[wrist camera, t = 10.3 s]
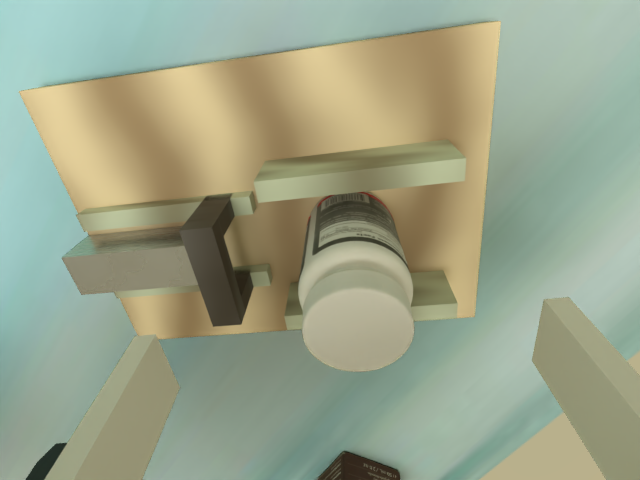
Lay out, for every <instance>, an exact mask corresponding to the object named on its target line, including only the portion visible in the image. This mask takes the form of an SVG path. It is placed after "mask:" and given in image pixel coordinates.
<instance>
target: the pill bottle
mask: <svg viewBox="0 0 640 480" xmlns="http://www.w3.org/2000/svg"><path fill="white" fill-rule="evenodd" d="M298 295H299V301H300V305H301V307H302V310H303V321H302V335H303V339H304V342H305V344H306V346H307V348H308V350H309V351H310V352H311V353H312V355H314V356H315V357H316V358H317V359H318V360H319V361H321V362H323V363H324V364H326V365H328V366H331V367H333V368H336V369H339V370H344V371H351V372H365V371H371V370H376V369H380V368H382V367H385V366H387V365H389V364H391V363H393V362H395V361H396V360H397V359H399V358H400V357H401V356H402V355H403V354H404V353H405V352H406V351H407V349H408V348H409V346H410V344H411V342H412V339H413V336H414V321H413V317H412V312H411V302H412V298H413V284H412V279H411V275H410V272H409V268H408V264H407V261H406V258H405V255H404V252H403V249H402V246H401V243H400V240H399V237H398V233H397V230H396V227H395V223H394V219H393V217H392V214H391V212H390V211H389V209H388V208H387V206H386V205H385V204H384V203H383V202H382V201H381V200H380V199H379V198H378V197H376V196H375V195H373V194H371V193H369V192H357V193H347V194H338V195H328V196H326V197H324V198H323V199H322V200H321V201H319V202H318V203H317V205H316V206H315V207H314V208H313V210H312V212H311V214H310V216H309V219H308V222H307V228H306V235H305V242H304V250H303V256H302V263H301V270H300V276H299V284H298Z"/></svg>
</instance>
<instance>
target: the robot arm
mask: <svg viewBox="0 0 640 480" xmlns="http://www.w3.org/2000/svg"><path fill="white" fill-rule="evenodd" d="M532 361H533V363H534V364H535V366H536V368H537V369H538V371H539V373H540V374H541V376H542V377H543V379H544V381H545V382H546V384H547V385H548V387H549V389H550V390H551V392H552V393H553V395H554V397H555V398H556V400H557V401H558V403H559V405H560V406H561V408H562V409H563V411H564V413H565V414H566V416H567V418H568V419H569V421H570V422H571V424H572V425H573V427H574V428H575V430H576V432H577V434H578V435H579V437H580V438H581V440H582V442H583V443H584V445H585V446H586V448H587V450H588V451H589V453H590V454H591V456H592V458H593V459H594V461H595V462H596V464H597V466H598V467H599V469H600V471H601V472H602V474H603V475H604V477H605V478H606V480H640V375H639V374H638V373H637V372H636V371H635V370H634V369H633V368H632V366H631V365H630V364H629V363H628V362H627V361H626V360H625V359H624V358H623V357H622V355H621V354H620V353H619V352H618V351H617V350H616V349H615V348H614V347H613V346H612V344H611V343H610V342H609V341H608V340H607V339H606V338H605V337H604V336H603V335H602V333H601V332H600V331H599V330H598V329H597V328H596V327H595V326H594V325H593V324H592V322H591V321H590V320H589V319H588V318H587V317H586V316H585V315H584V314H583V312H582V311H581V310H580V309H579V308H578V307H577V306H576V305H575V304H574V303H573V301H572V300H571V299H570V298H569V297H565V298H554V299H544V301H543V306H542V311H541V317H540V322H539V327H538V332H537V337H536V342H535V347H534V352H533V357H532ZM179 389H180V387H179V384H178V382H177V380H176V378H175V376H174V373H173V371H172V369H171V367H170V365H169V362H168V360H167V358H166V356H165V354H164V352H163V349H162V347H161V345H160V343H159V341H158V338H157V336H156V334H153V335H142V336H135V337H134V338H133V340H132V341H131V343H130V345H129V346H128V348H127V349H126V351H125V353H124V354H123V356H122V357H121V359H120V360H119V362H118V364H117V365H116V367H115V368H114V370H113V372H112V373H111V375H110V376H109V378H108V379H107V381H106V383H105V384H104V386H103V387H102V389H101V391H100V392H99V394H98V395H97V397H96V399H95V400H94V402H93V403H92V405H91V406H90V408H89V410H88V411H87V413H86V414H85V416H84V418H83V419H82V421H81V422H80V424H79V425H78V427H77V429H76V430H75V432H74V433H73V435H72V437H71V438H70V440H69V441H68V443H59V444H55V445H54V446H53V447H52V448H51V449H50V450H49V451H48V452H47V453H46V454H45V455H44V456H43V457H42V458H41V459H40V460H39V461H38V462H37V463H36V465H35V466H34V468H33V469H32V471H31V472H30V474H29V475H28V477H27V478H26V480H142V478H143V476H144V474H145V471H146V469H147V466H148V464H149V461H150V459H151V457H152V454H153V452H154V449H155V447H156V444H157V442H158V440H159V437H160V435H161V432H162V430H163V428H164V425H165V423H166V420H167V418H168V415H169V413H170V411H171V408H172V406H173V403H174V401H175V398H176V396H177V394H178V391H179Z"/></svg>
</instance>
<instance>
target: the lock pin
mask: <svg viewBox="0 0 640 480" xmlns="http://www.w3.org/2000/svg"><path fill="white" fill-rule="evenodd" d="M181 228H182V226H177V227H167V228H157V229H148V230H138V231H128V232H118V233H108V234H98V235H89V236H87V237H86V238H85V239H83V240H82V241H81V242H80V243H79V244H77V245H76V246H75V247H74V248H73V249H71V250H70V251H69V252H68V253H67V254H65V255H64V256H63V257H62V260H63V262H64V263H65V265H66V267H67V269H68V271H69V273H70V274H71V276H72V278H73V280H74V282H75V284H76V285H77V287H78V289H79V291H80V293H81V295H85V294H97V293H108V292H120V291H132V290H144V289H155V288H167V287H179V286H190V285H198V283H197V280H196V277H195V274H194V271H193V269H192V266H191V263H190V260H189V257H188V254H187V252H186V249H185V246H184V243H183V240H182V238H181V235H180V232H179V230H180V229H181Z"/></svg>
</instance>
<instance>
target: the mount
mask: <svg viewBox="0 0 640 480" xmlns="http://www.w3.org/2000/svg"><path fill="white" fill-rule="evenodd" d="M500 24H501V21H491V22H482V23H475V24H468V25H461V26H455V27H448V28H441V29H434V30H427V31H420V32H414V33H407V34H400V35H393V36H386V37H379V38H372V39H366V40H359V41H352V42H345V43H338V44H331V45H325V46H318V47H311V48H304V49H297V50H290V51H284V52H277V53H270V54H263V55H256V56H249V57H243V58H236V59H229V60H222V61H215V62H208V63H201V64H195V65H188V66H181V67H174V68H167V69H160V70H154V71H147V72H140V73H133V74H126V75H119V76H113V77H106V78H99V79H92V80H85V81H78V82H71V83H65V84H58V85H51V86H44V87H38V88H33V89H28V90H23V91H19V93H20V95H21V97H22V99H23V101H24V103H25V105H26V107H27V110H28V112H29V114H30V116H31V118H32V120H33V122H34V124H35V126H36V128H37V130H38V132H39V134H40V136H41V138H42V140H43V142H44V144H45V146H46V148H47V151H48V153H49V155H50V157H51V159H52V161H53V163H54V165H55V167H56V169H57V171H58V173H59V175H60V177H61V179H62V181H63V183H64V185H65V187H66V189H67V191H68V194H69V196H70V198H71V200H72V202H73V204H74V206H75V208H76V210H77V212H78V214H77V215H76V216H77V218H78V220H79V222H80V224H81V226H82V228H83V230H84V232H86V231H87V232H88V235H98V234H108V233H118V232H128V231H138V230H148V229H157V228H167V227H177V226H182V228H181V229H180V230H179V232H180V235H181V238H182V240H183V243H184V246H185V249H186V252H187V254H188V257H189V260H190V263H191V266H192V269H193V271H194V274H195V277H196V280H197V283H198V285H190V286H179V287H167V288H155V289H144V290H132V291H120V292H114V293H115V295H116V297H117V298H120V300H121V302H122V304H123V306H124V308H125V310H126V312H127V314H128V316H129V319H130V321H131V323H132V325H133V327H134V329H135V331H136V333H137V335H138V336H142V335H153V334H156V336H157V338H158V339H170V338H184V337H198V336H212V335H227V334H241V333H255V332H269V331H283V330H299V329H302V321H303V310H302V307H301V305H300V301H299V295H298V284H299V276H300V270H301V263H302V256H303V250H304V242H305V235H306V228H307V222H308V219H309V216H310V214H311V212H312V210H313V208H314V207H315V206H316V205H317V203H318V202H319V201H321V200H322V199H323V198H324V197H326V196H328V195H338V194H347V193H357V192H369V193H371V194H373V195H375V196H376V197H378V198H379V199H380V200H381V201H382V202H383V203H384V204H385V205H386V206H387V208H388V209H389V211H390V212H391V214H392V217H393V219H394V223H395V227H396V230H397V233H398V237H399V240H400V243H401V246H402V249H403V252H404V255H405V258H406V261H407V264H408V268H409V272H410V275H411V279H412V284H413V298H412V302H411V312H412V317H413V321H426V320H440V319H455V318H466V317H475V307H476V296H477V284H478V273H479V262H480V250H481V239H482V228H483V216H484V205H485V194H486V183H487V171H488V160H489V149H490V137H491V126H492V115H493V103H494V92H495V81H496V70H497V58H498V47H499V36H500Z"/></svg>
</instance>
